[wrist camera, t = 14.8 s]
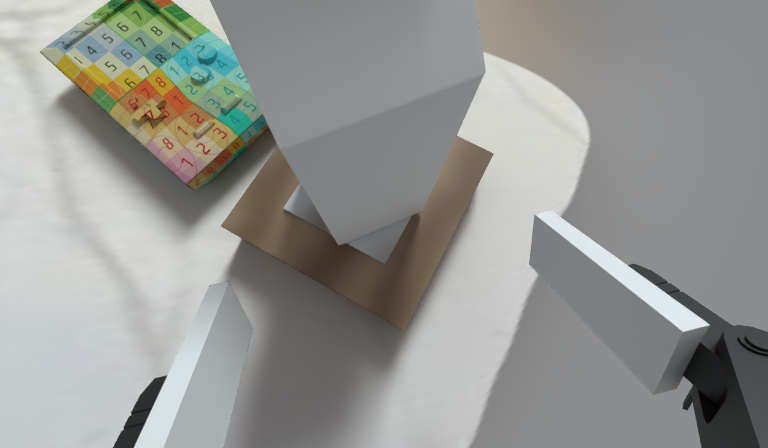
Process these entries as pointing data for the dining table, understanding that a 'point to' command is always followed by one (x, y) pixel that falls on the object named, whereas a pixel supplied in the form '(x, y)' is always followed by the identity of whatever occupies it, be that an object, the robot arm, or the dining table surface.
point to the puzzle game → (164, 84)
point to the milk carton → (360, 96)
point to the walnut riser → (367, 253)
